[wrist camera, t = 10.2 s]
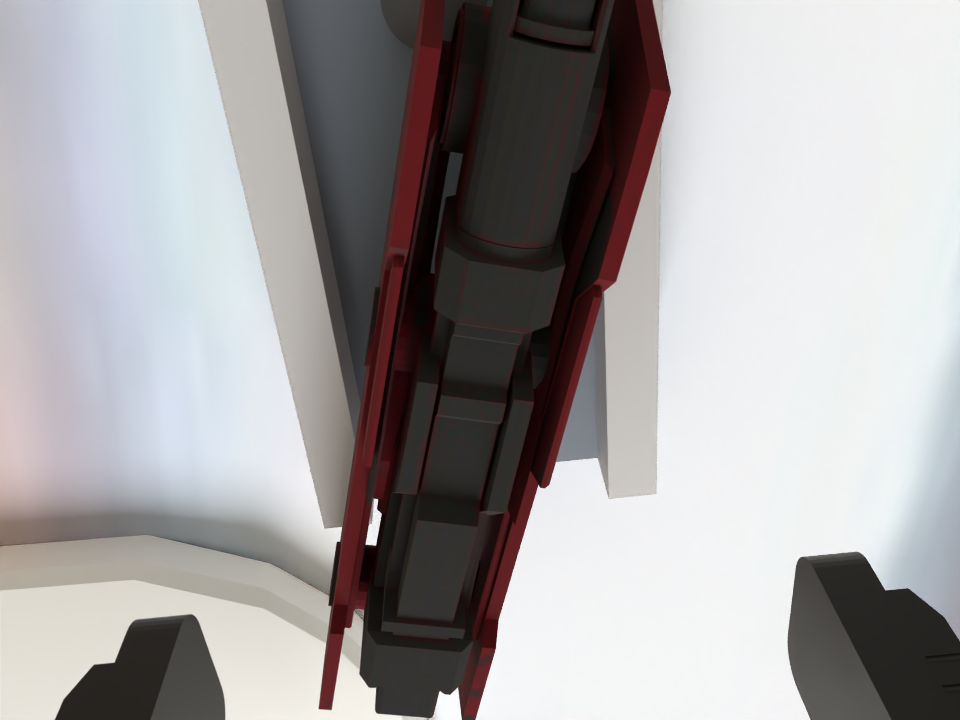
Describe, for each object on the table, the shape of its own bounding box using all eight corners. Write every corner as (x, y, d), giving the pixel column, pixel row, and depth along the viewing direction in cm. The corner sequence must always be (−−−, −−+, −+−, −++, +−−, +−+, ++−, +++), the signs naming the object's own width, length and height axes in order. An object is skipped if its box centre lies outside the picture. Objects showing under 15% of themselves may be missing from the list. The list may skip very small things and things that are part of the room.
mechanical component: (459, -302, 16) (465, -357, 12) (695, -245, 17) (793, -274, 12) (328, 601, 28) (302, 762, 23) (470, 617, 28) (475, 778, 24)
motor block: (622, -133, 22) (669, -123, 18) (626, 399, 31) (659, 493, 26) (224, -90, 22) (176, -70, 18) (336, 430, 31) (321, 528, 26)
